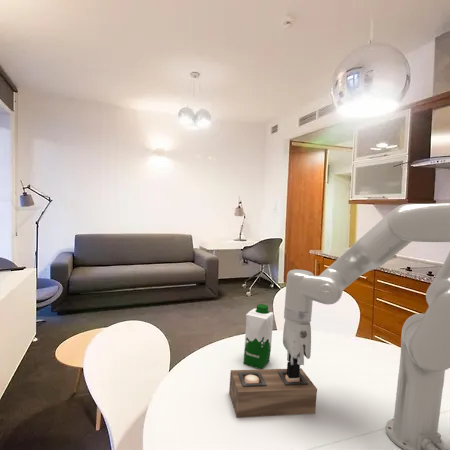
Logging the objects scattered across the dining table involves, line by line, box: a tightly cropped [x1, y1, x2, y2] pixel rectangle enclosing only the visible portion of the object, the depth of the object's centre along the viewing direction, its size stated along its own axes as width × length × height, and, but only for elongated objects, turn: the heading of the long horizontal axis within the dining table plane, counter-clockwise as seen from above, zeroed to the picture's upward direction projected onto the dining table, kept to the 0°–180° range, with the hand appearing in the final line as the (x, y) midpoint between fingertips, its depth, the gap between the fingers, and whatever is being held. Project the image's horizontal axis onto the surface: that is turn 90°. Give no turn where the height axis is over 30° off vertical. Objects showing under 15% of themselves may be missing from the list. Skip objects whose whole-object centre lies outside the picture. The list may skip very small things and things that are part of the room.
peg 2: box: [285, 374, 300, 382], centre depth 95 cm, size 4×4×7 cm
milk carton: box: [243, 303, 275, 369], centre depth 116 cm, size 9×9×20 cm
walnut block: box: [228, 367, 318, 418], centre depth 94 cm, size 11×22×7 cm, turn 100°
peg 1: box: [245, 375, 259, 383], centre depth 93 cm, size 4×4×7 cm
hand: (292, 376), depth 95 cm, fingers closed
